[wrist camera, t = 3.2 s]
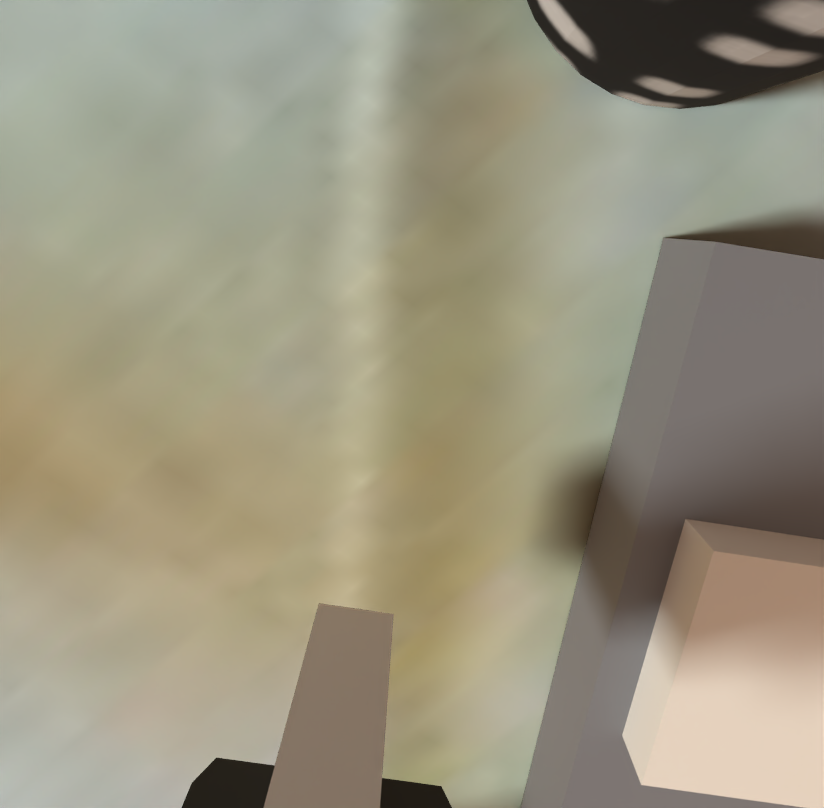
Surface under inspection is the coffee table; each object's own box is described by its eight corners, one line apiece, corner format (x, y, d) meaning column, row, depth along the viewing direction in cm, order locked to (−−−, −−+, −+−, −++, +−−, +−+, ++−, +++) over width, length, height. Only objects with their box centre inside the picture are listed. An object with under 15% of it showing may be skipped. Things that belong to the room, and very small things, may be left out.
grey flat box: (663, 237, 16) (716, 241, 13) (1132, 313, 16) (1284, 334, 14) (518, 813, 21) (534, 909, 18) (884, 864, 21) (956, 965, 18)
